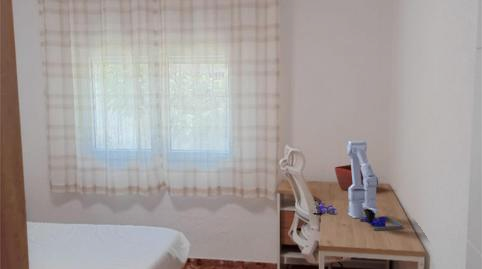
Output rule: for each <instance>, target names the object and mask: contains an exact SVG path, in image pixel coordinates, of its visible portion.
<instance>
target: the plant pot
mask: <svg viewBox="0 0 482 269" xmlns="http://www.w3.org/2000/svg"><path fill="white" fill-rule="evenodd" d="M361 166H362V165H360V174H361V184H362V185H363V186H364V184H363V179H364V177H363V174H362V171H361ZM334 170H335V176H336V178H337V182H338V185H339V188H340V190H343V191H347V192H348V188H349V187H350V186H351V185H353V181H352V170H351V164H347V165H340V166H339V165H338V166H335V167H334ZM354 190H361V189H354Z"/></svg>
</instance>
